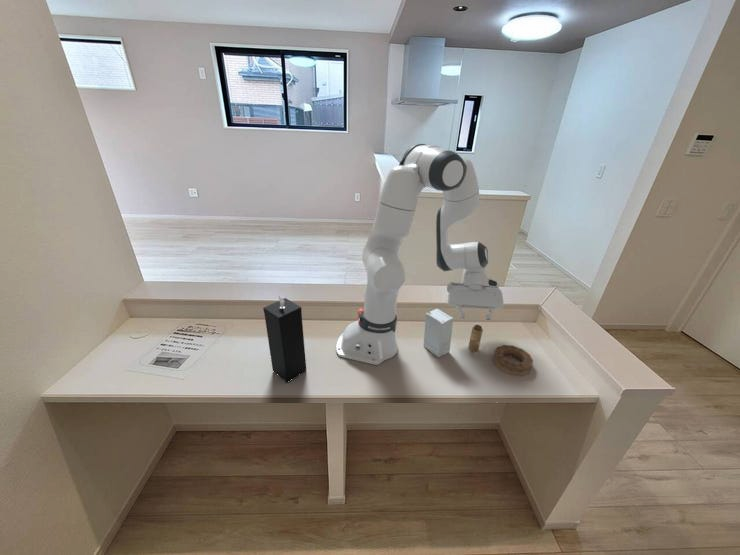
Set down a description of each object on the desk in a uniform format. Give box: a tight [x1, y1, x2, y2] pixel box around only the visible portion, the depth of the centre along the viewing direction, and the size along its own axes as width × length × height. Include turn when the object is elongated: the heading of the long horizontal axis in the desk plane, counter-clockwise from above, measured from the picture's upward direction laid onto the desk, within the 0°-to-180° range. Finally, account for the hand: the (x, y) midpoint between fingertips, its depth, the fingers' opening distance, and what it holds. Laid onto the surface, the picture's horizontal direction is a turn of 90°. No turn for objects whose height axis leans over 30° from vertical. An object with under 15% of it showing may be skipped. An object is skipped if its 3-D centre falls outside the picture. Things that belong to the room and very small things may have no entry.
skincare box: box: [423, 308, 454, 358], centre depth 111 cm, size 8×6×15 cm
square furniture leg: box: [262, 295, 307, 383], centre depth 96 cm, size 8×8×28 cm
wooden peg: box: [467, 324, 484, 353], centre depth 113 cm, size 4×4×10 cm
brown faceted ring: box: [492, 344, 534, 376], centre depth 108 cm, size 12×12×3 cm
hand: (475, 318), depth 115 cm, fingers open, 8 cm apart
